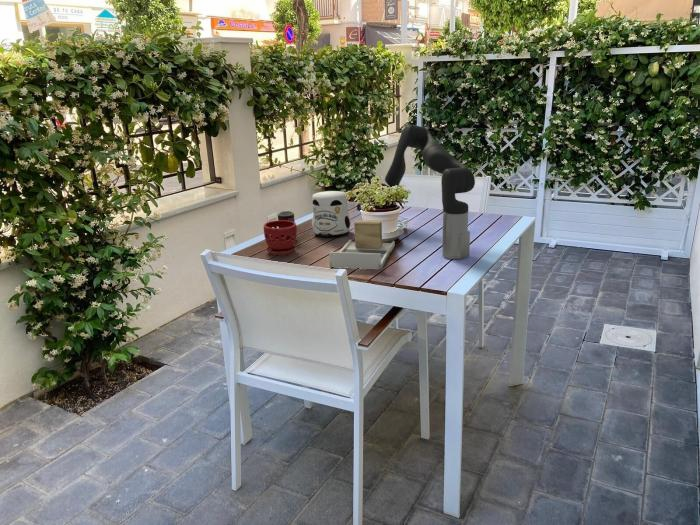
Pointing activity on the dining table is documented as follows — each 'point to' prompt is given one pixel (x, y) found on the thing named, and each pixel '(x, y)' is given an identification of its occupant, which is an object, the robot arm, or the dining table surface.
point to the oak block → (368, 234)
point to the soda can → (286, 216)
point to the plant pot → (280, 237)
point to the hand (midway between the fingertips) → (371, 210)
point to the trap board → (361, 256)
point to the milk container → (330, 214)
